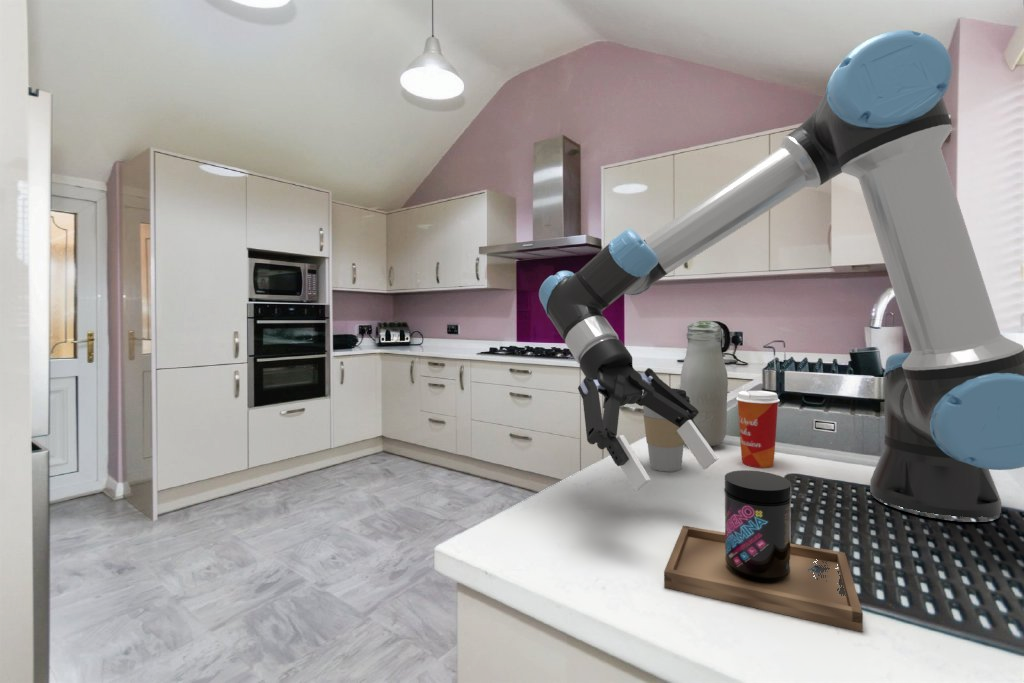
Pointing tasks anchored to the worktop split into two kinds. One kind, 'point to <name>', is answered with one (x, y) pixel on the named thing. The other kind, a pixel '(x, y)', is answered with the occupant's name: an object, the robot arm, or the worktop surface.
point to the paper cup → (757, 427)
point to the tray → (799, 595)
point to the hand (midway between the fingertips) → (679, 474)
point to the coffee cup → (663, 440)
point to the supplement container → (758, 525)
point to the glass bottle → (706, 380)
